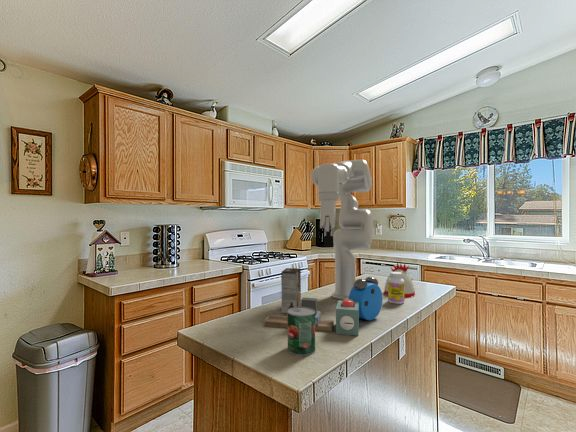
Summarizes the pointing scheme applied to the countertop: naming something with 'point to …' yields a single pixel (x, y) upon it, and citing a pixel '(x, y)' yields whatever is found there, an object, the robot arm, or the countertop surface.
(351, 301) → the plunger
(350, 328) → the cabinet
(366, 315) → the alarm clock
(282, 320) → the rail plank
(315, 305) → the carriage
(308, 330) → the canned tomato
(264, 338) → the countertop surface
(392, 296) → the supplement bottle
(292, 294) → the coffee box
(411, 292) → the kitchen timer
